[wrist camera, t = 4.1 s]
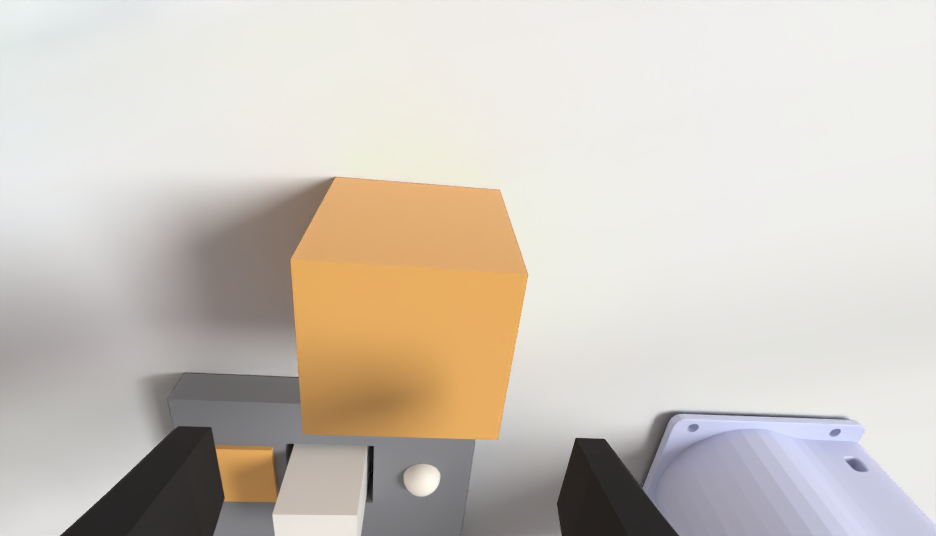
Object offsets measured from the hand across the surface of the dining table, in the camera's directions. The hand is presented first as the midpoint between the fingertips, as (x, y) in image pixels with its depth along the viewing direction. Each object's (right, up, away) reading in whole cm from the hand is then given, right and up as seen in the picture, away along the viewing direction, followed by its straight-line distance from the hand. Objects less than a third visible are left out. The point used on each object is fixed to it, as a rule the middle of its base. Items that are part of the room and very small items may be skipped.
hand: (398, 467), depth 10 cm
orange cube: (-1, +5, +8) cm, 9 cm away
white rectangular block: (-5, -4, +12) cm, 14 cm away
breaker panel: (-5, -9, +15) cm, 19 cm away
